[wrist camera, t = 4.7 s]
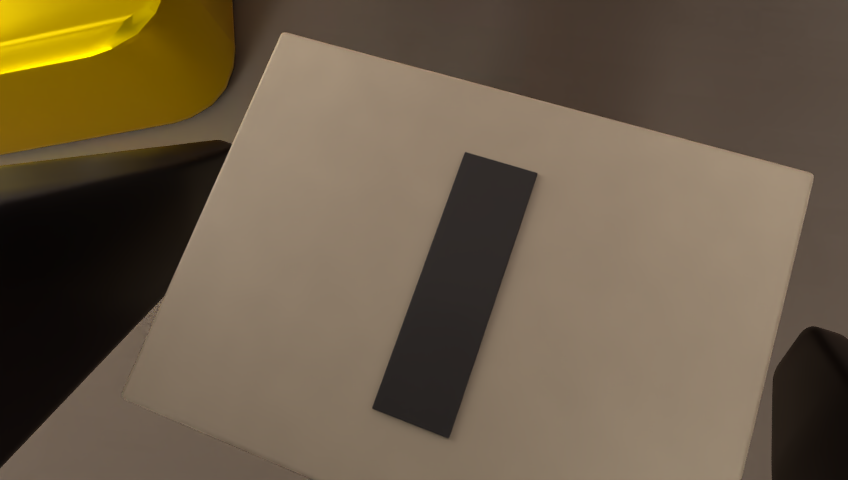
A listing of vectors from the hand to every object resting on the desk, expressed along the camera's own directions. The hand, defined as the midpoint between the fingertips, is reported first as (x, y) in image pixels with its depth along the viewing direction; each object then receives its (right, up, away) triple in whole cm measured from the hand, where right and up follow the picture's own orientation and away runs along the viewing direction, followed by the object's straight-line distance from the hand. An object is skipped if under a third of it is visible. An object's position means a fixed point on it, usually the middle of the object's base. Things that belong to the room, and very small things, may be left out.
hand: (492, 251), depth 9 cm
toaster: (0, -3, +6) cm, 7 cm away
